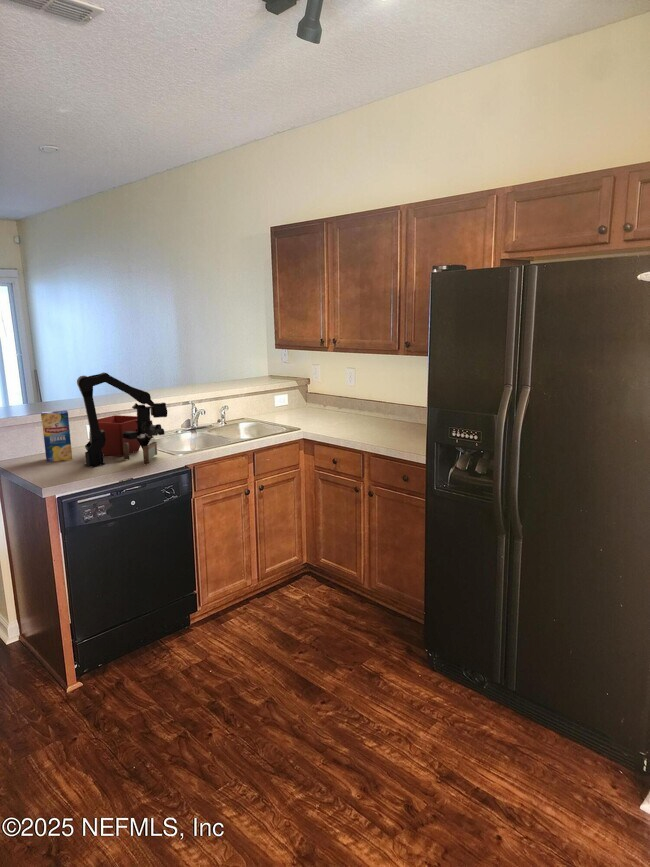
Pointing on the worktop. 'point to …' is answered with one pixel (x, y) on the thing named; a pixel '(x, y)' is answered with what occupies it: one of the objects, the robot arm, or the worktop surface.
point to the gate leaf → (152, 449)
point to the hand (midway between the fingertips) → (144, 451)
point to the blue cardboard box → (56, 435)
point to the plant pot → (118, 434)
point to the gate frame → (145, 453)
